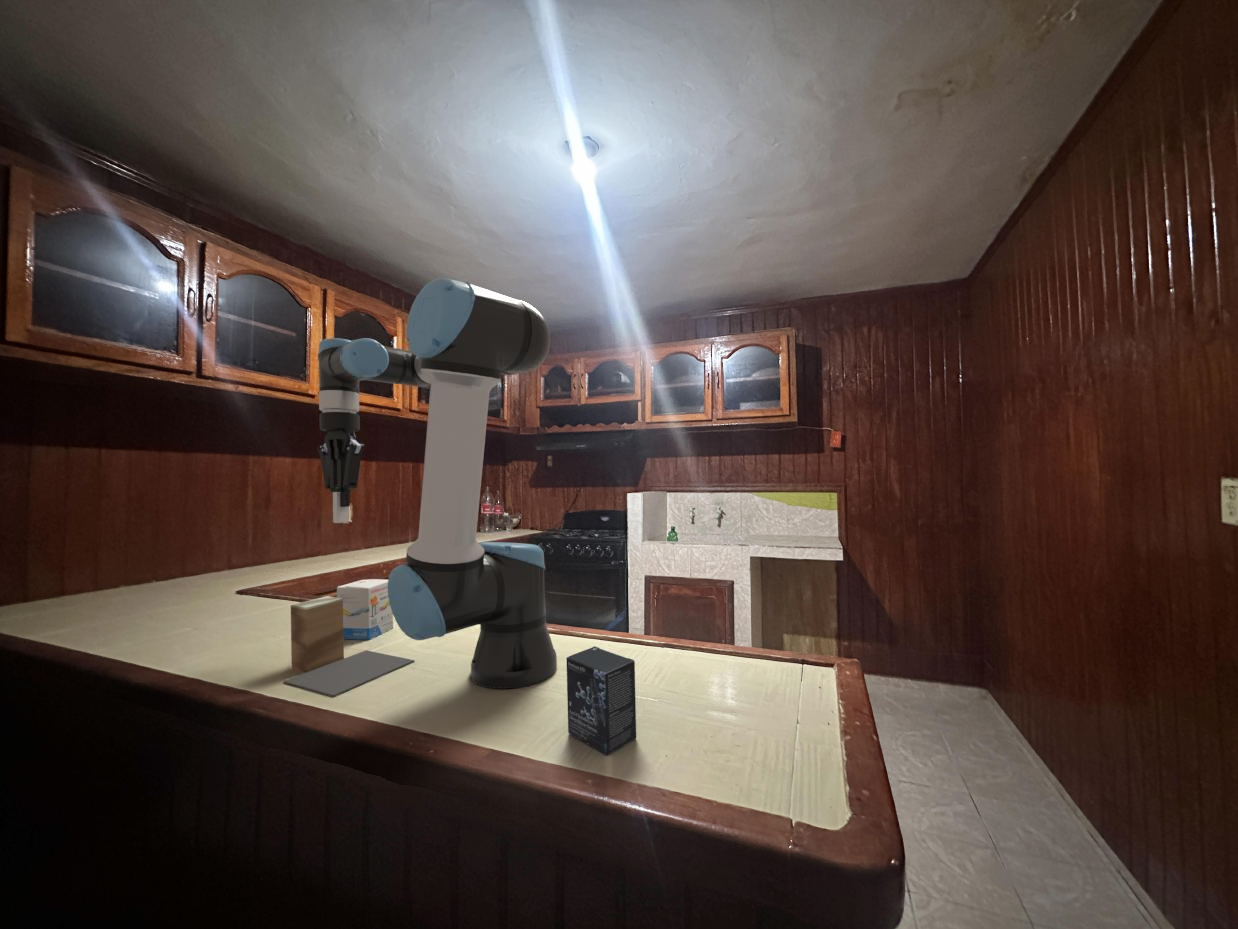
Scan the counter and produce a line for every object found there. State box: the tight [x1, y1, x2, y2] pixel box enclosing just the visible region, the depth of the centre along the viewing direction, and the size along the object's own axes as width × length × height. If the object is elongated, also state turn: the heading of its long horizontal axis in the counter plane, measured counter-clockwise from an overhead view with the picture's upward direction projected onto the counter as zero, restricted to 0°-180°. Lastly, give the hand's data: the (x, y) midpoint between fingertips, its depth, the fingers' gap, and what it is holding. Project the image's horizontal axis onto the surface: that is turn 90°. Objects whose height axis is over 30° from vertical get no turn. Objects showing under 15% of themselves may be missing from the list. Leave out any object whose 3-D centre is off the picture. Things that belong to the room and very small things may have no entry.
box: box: [565, 645, 637, 756], centre depth 65 cm, size 8×6×11 cm
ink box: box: [336, 578, 394, 641], centre depth 112 cm, size 9×8×12 cm
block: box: [290, 595, 345, 673], centre depth 94 cm, size 5×7×12 cm
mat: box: [282, 650, 415, 698], centre depth 89 cm, size 14×16×1 cm
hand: (341, 522), depth 104 cm, fingers closed
